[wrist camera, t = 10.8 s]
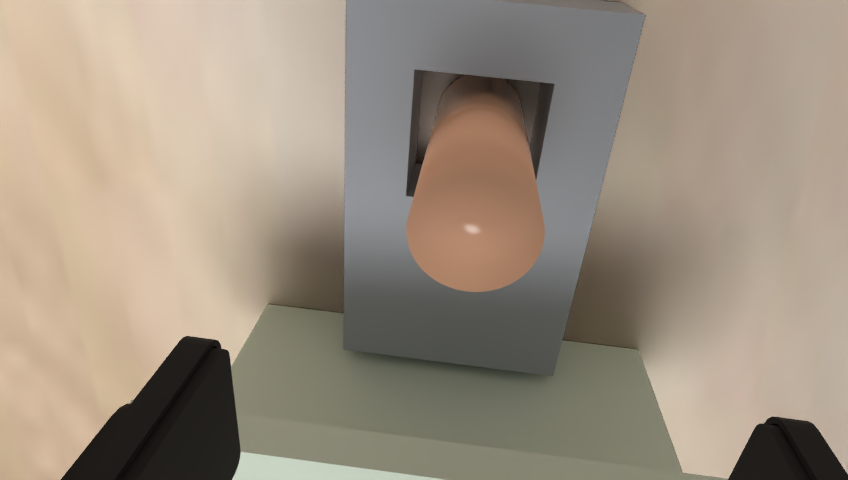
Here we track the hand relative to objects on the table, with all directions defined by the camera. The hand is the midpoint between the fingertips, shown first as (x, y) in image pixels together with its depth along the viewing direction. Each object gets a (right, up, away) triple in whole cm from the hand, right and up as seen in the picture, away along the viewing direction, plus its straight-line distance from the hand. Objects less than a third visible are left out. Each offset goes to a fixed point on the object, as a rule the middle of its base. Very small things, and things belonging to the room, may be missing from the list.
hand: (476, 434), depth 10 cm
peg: (+2, +9, +17) cm, 19 cm away
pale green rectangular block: (+1, 0, +22) cm, 22 cm away
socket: (+1, +7, +18) cm, 19 cm away
